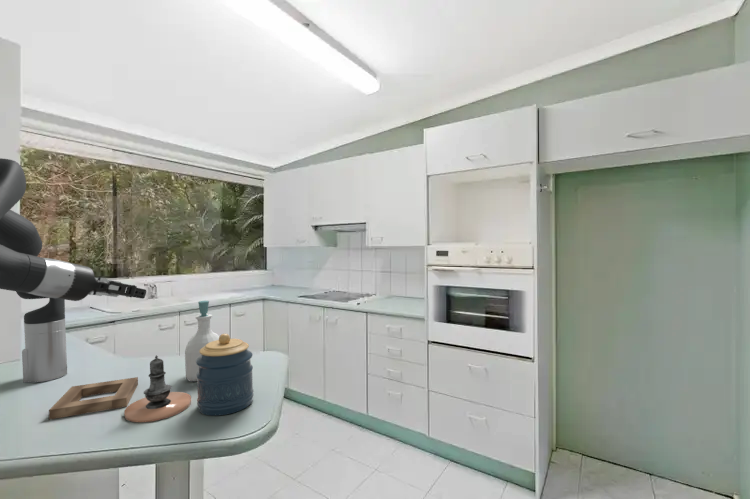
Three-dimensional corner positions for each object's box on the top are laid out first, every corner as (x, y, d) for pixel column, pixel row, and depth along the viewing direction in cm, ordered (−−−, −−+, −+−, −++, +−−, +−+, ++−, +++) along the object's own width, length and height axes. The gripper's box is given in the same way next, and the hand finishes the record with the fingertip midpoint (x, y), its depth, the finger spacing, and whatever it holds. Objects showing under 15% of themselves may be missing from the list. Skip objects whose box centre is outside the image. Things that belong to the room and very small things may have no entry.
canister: (259, 407, 89) (257, 335, 88) (200, 422, 82) (198, 344, 81) (247, 389, 100) (245, 325, 99) (194, 401, 93) (192, 332, 92)
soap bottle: (224, 369, 116) (222, 297, 115) (220, 380, 106) (218, 302, 106) (191, 372, 113) (189, 299, 112) (184, 384, 104) (181, 304, 103)
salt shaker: (159, 410, 86) (156, 359, 85) (138, 408, 87) (135, 358, 86) (177, 399, 91) (175, 352, 91) (157, 397, 93) (155, 351, 92)
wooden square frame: (49, 419, 84) (48, 410, 84) (72, 394, 98) (71, 386, 98) (126, 406, 90) (126, 397, 90) (138, 384, 104) (137, 377, 104)
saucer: (118, 427, 80) (117, 423, 80) (131, 402, 93) (131, 398, 93) (189, 414, 86) (189, 410, 86) (192, 391, 98) (192, 388, 98)
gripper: (89, 263, 73) (157, 279, 88) (42, 260, 77) (115, 276, 92) (76, 300, 71) (149, 310, 86) (29, 295, 75) (106, 306, 90)
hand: (131, 293), depth 89 cm, fingers open, 8 cm apart
